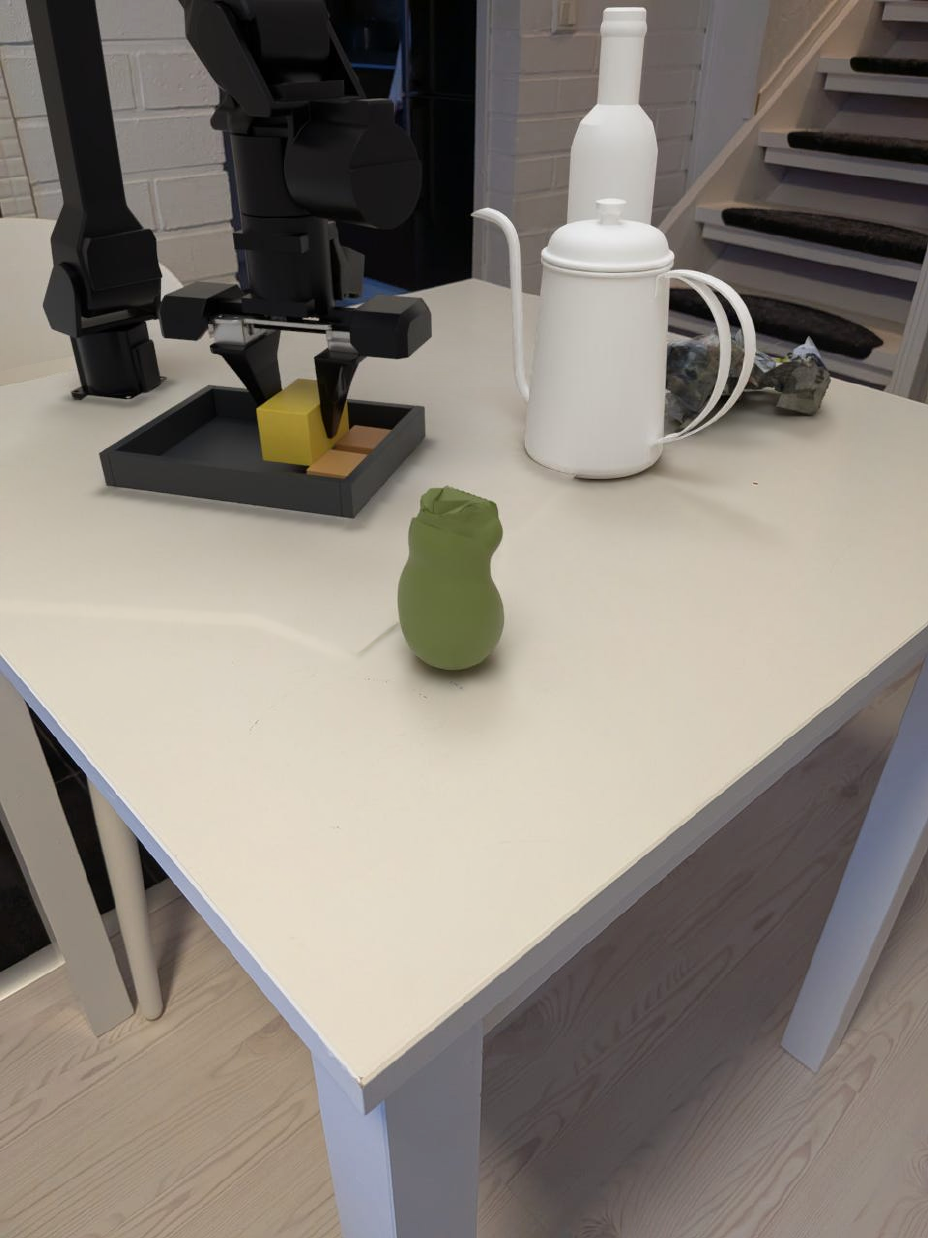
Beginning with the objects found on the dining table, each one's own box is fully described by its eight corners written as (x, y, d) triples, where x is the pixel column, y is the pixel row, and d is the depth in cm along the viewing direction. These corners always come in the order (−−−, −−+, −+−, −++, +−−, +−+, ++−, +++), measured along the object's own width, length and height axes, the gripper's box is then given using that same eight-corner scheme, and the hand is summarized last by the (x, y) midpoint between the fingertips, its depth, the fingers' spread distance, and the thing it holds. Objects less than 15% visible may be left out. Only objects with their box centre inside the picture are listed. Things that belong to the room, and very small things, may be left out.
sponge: (262, 460, 67) (255, 408, 65) (303, 427, 73) (297, 378, 71) (312, 466, 66) (307, 413, 64) (349, 432, 72) (345, 382, 70)
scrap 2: (335, 461, 70) (334, 443, 69) (355, 442, 73) (354, 424, 73) (384, 468, 69) (384, 450, 69) (402, 448, 73) (401, 431, 72)
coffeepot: (511, 400, 84) (517, 173, 73) (763, 476, 69) (813, 207, 59) (428, 433, 77) (421, 189, 67) (687, 524, 63) (729, 231, 52)
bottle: (560, 351, 96) (579, 8, 80) (636, 354, 95) (670, 7, 79) (556, 375, 89) (575, 6, 73) (637, 378, 88) (675, 6, 72)
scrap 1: (307, 488, 66) (306, 469, 65) (329, 467, 69) (328, 448, 69) (359, 496, 65) (358, 477, 64) (379, 474, 68) (378, 455, 68)
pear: (381, 662, 49) (370, 493, 44) (445, 620, 53) (442, 459, 47) (461, 703, 46) (460, 527, 41) (523, 656, 50) (530, 488, 44)
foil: (864, 401, 73) (720, 293, 70) (768, 498, 79) (631, 402, 76) (835, 351, 83) (707, 254, 79) (751, 441, 89) (629, 354, 85)
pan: (107, 492, 67) (98, 452, 66) (213, 418, 80) (208, 384, 78) (353, 525, 63) (350, 484, 61) (425, 442, 75) (424, 406, 74)
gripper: (453, 198, 65) (455, 409, 73) (218, 187, 69) (245, 388, 78) (400, 226, 56) (409, 463, 64) (134, 211, 60) (175, 435, 69)
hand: (306, 433), depth 69 cm, fingers closed on sponge, 4 cm apart
